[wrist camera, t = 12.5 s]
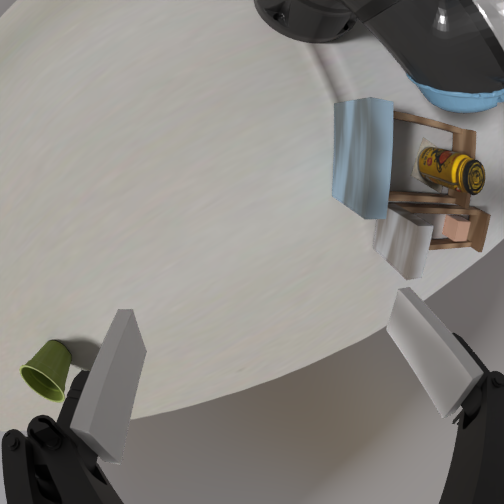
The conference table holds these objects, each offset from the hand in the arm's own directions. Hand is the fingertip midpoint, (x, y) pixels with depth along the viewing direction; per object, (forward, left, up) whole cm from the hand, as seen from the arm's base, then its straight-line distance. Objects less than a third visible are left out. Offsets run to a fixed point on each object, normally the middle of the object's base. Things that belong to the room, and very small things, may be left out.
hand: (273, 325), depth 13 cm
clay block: (+6, +41, -29) cm, 50 cm away
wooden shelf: (-6, +27, -28) cm, 39 cm away
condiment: (-5, +33, -29) cm, 44 cm away
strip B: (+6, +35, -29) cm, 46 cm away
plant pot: (+32, -44, -29) cm, 62 cm away
